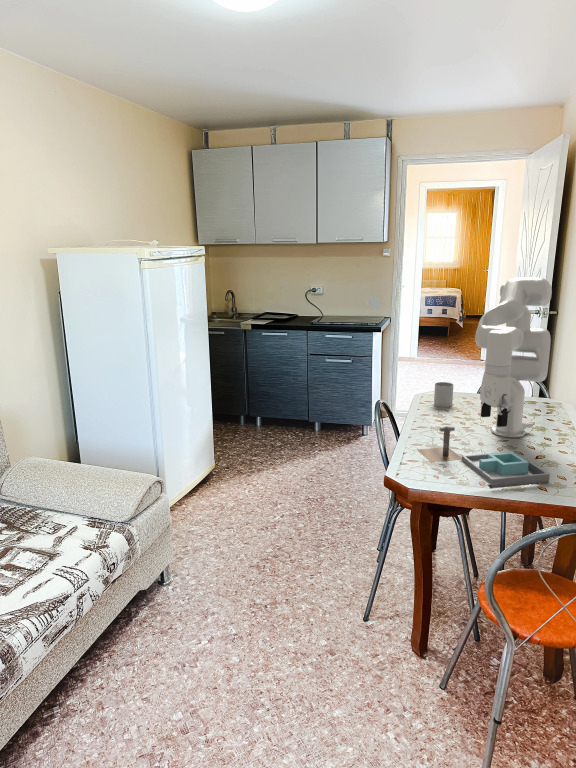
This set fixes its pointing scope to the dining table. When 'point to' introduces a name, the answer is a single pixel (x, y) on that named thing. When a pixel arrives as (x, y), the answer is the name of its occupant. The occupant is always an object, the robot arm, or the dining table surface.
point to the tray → (536, 476)
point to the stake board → (441, 449)
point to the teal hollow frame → (504, 463)
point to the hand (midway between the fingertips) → (493, 421)
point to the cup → (443, 394)
